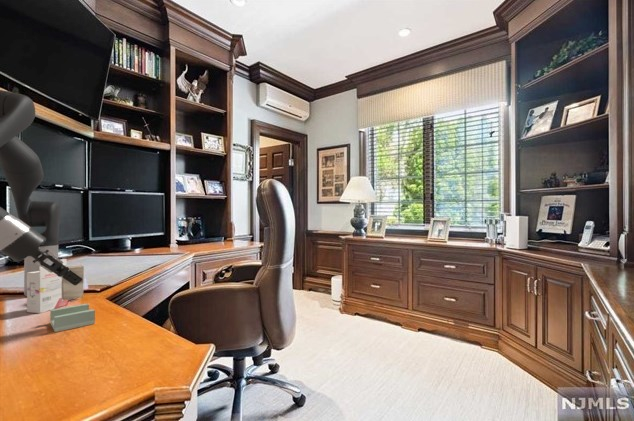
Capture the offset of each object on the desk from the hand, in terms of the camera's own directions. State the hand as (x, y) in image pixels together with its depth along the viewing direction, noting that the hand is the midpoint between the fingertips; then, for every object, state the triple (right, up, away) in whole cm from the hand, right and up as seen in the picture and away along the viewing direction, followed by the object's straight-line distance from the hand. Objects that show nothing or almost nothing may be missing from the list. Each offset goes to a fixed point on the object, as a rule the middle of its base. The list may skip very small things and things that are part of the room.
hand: (77, 281), depth 82 cm
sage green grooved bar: (-1, -11, -1) cm, 11 cm away
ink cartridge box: (-18, -11, +12) cm, 25 cm away
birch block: (-1, -4, -1) cm, 4 cm away
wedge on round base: (-22, -12, +22) cm, 33 cm away
